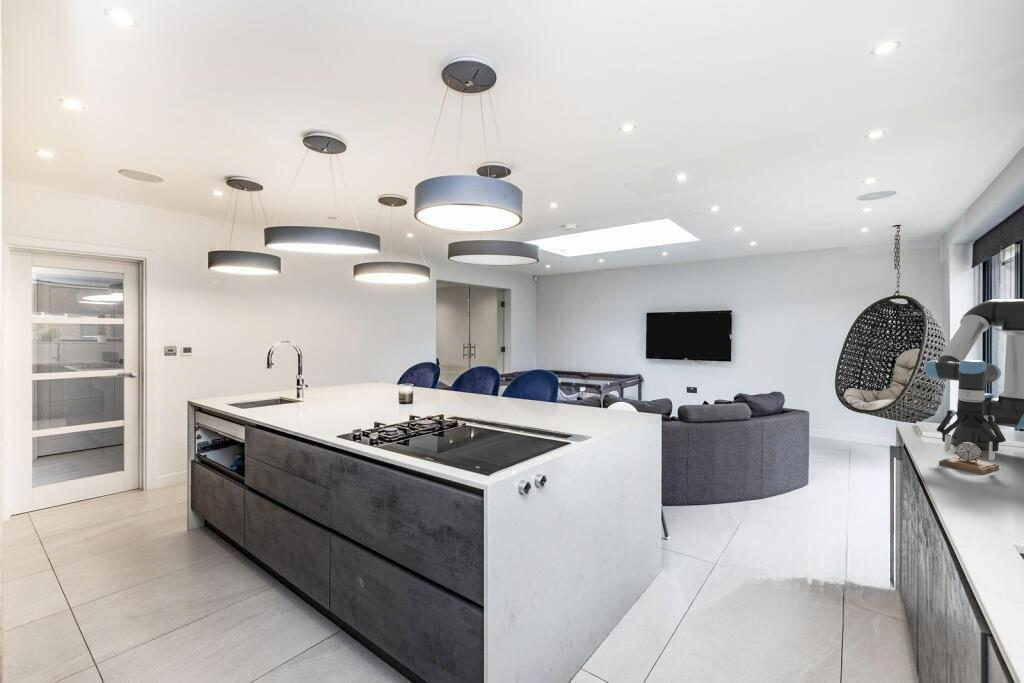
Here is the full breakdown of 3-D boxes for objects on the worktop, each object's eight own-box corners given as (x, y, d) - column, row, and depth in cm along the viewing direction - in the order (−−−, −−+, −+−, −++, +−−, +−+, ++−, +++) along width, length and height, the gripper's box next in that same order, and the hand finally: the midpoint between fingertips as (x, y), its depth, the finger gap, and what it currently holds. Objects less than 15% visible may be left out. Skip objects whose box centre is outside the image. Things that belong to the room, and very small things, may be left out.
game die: (974, 472, 191) (994, 456, 184) (950, 463, 192) (970, 447, 186) (966, 455, 197) (985, 439, 191) (943, 447, 199) (961, 430, 193)
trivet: (956, 460, 200) (956, 455, 200) (998, 469, 188) (999, 464, 188) (939, 464, 195) (939, 459, 195) (981, 474, 183) (981, 469, 183)
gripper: (927, 396, 200) (925, 448, 201) (1009, 406, 177) (1006, 465, 178) (937, 394, 203) (935, 445, 204) (1019, 404, 180) (1016, 462, 182)
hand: (968, 454), depth 191 cm, fingers open, 13 cm apart
